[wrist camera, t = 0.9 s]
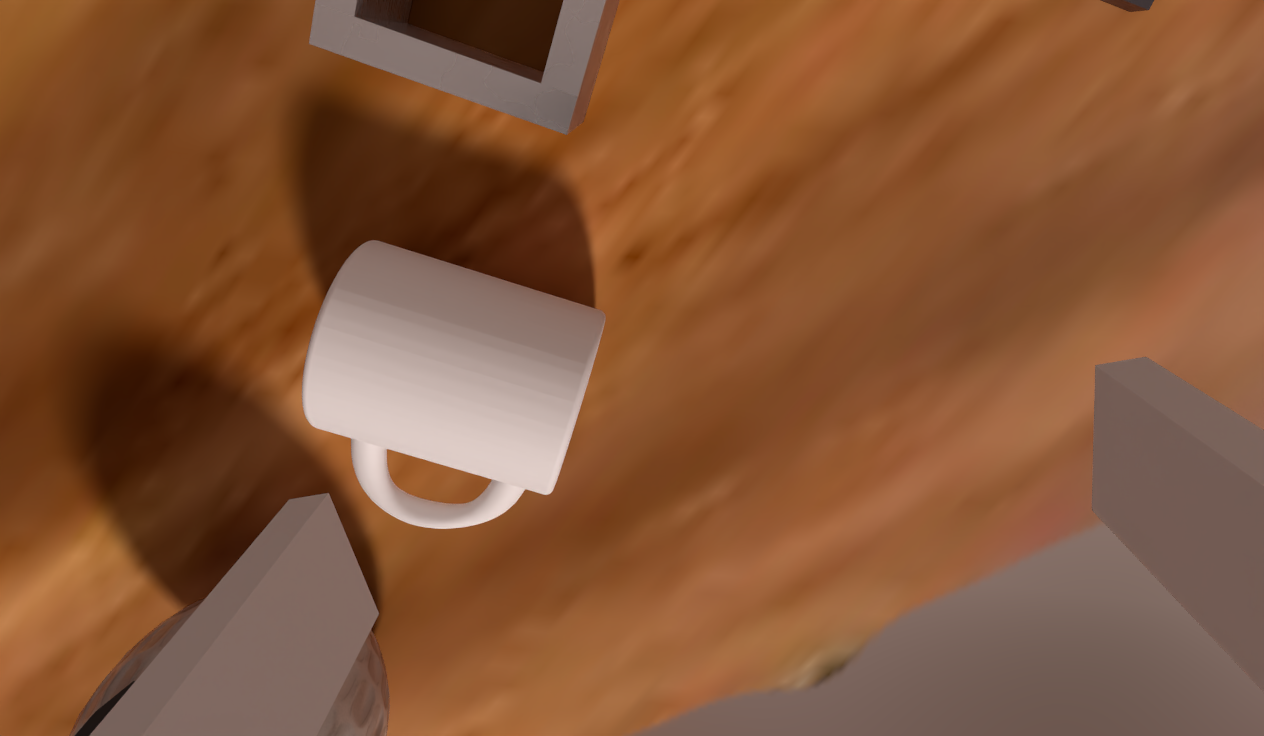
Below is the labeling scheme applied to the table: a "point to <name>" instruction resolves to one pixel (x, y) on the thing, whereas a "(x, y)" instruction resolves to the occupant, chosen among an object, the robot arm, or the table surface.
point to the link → (475, 57)
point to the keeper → (1131, 4)
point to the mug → (447, 378)
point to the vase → (350, 724)
